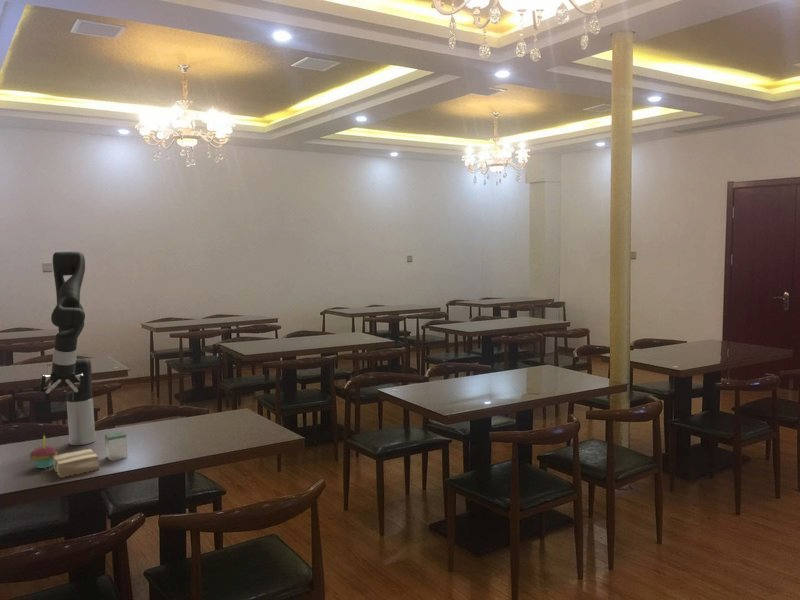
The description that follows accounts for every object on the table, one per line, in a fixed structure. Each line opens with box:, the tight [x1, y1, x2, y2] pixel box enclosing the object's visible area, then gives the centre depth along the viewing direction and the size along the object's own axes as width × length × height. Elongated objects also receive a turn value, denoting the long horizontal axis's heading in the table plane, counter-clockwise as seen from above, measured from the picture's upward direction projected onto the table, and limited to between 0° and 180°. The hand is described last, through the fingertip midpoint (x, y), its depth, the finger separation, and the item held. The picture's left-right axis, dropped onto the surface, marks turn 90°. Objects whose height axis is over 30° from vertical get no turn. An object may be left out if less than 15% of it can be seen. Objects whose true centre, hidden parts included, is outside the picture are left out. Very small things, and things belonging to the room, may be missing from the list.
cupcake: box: [29, 434, 59, 469], centre depth 226 cm, size 9×8×12 cm
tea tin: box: [104, 430, 129, 461], centre depth 235 cm, size 6×6×8 cm
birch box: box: [53, 448, 100, 478], centre depth 223 cm, size 12×12×5 cm
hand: (60, 400), depth 237 cm, fingers open, 8 cm apart
